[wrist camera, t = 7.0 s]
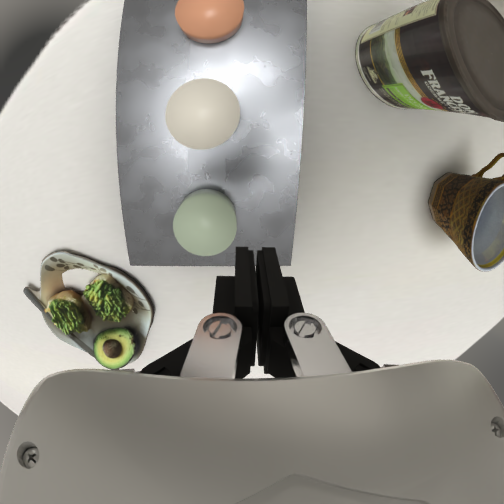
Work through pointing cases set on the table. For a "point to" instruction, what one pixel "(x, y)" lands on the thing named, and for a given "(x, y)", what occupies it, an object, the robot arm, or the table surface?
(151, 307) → the avocado toast plate
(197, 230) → the button sage
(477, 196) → the ceramic cup
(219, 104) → the button cream
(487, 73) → the coffee can
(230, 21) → the brown egg
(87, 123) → the table surface
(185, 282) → the table surface
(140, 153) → the panel
